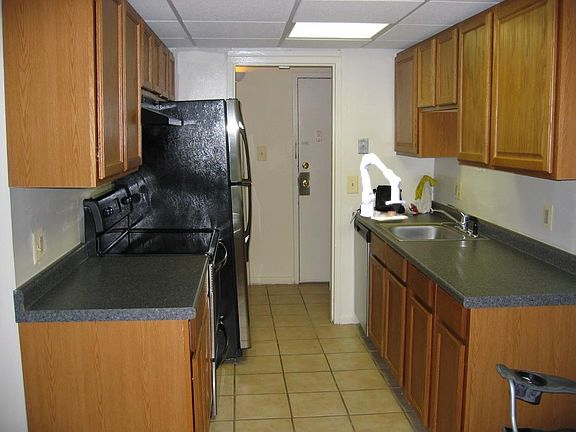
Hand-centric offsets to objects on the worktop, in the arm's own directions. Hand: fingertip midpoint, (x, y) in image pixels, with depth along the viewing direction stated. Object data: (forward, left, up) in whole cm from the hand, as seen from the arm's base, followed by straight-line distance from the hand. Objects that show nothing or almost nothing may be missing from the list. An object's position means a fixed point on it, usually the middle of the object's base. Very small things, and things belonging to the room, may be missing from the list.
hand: (395, 214), depth 442 cm
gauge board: (+2, -6, -2) cm, 7 cm away
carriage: (+3, -3, -1) cm, 4 cm away
